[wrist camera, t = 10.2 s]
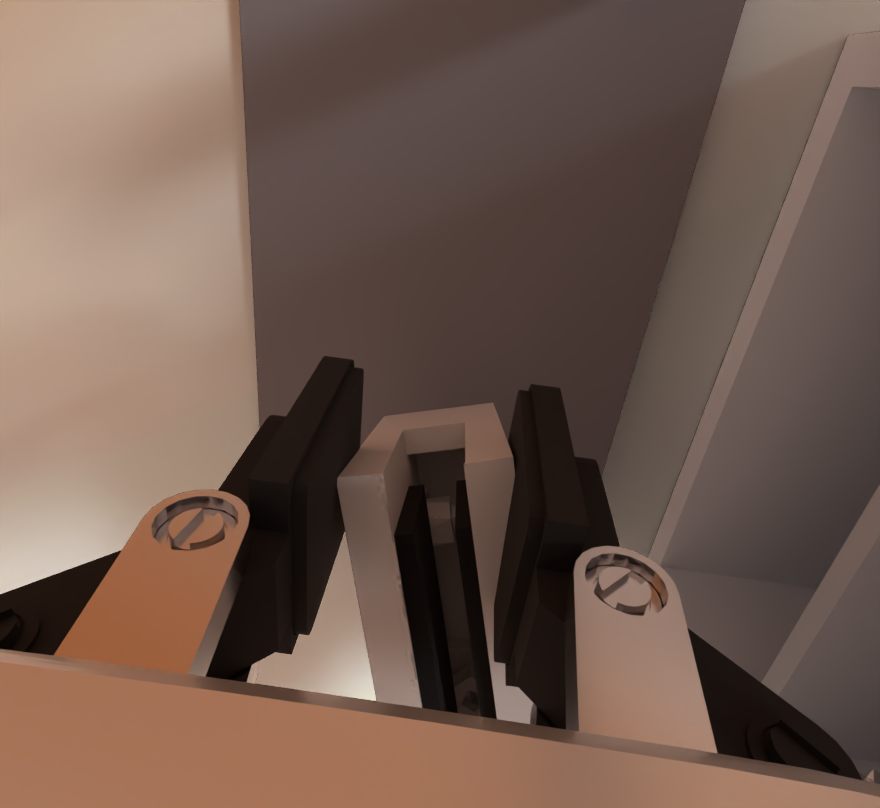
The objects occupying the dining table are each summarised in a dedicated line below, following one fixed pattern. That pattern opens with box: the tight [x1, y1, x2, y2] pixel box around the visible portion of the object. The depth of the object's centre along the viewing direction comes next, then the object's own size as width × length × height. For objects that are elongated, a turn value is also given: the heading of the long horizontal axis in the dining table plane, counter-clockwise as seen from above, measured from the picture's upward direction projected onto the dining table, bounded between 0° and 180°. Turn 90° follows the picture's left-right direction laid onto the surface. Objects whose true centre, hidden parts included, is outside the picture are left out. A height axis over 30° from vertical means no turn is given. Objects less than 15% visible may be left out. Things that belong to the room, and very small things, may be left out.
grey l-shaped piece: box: [239, 0, 746, 476], centre depth 11 cm, size 18×11×11 cm, turn 174°
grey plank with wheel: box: [337, 403, 533, 724], centre depth 15 cm, size 4×10×15 cm
